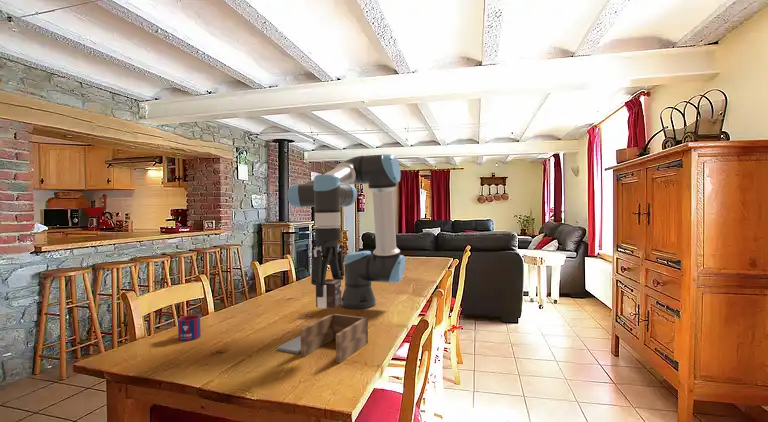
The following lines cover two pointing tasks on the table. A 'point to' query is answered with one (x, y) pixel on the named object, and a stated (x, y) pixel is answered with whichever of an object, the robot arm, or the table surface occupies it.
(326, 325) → the open wooden cubby
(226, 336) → the table surface
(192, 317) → the mug
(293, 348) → the slate
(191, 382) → the table surface
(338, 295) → the box
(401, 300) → the table surface
